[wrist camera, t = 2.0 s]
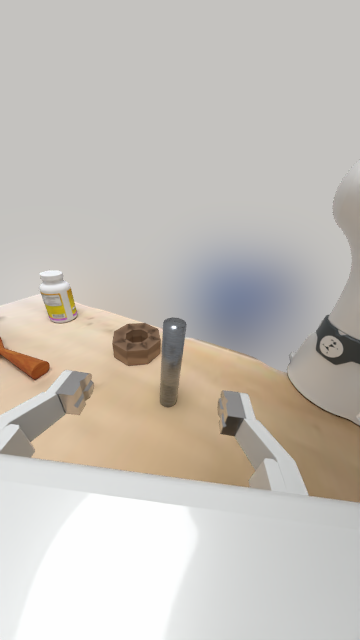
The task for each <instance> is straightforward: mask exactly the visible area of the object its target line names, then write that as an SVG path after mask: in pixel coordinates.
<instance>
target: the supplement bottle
mask: <svg viewBox="0 0 360 640" xmlns="http://www.w3.org/2000/svg"><path fill="white" fill-rule="evenodd" d="M39 275H40V278H41V279H42V281H43V283H42V284H41V285H40V287H39V289H40V292H41V295H42V298H43V301H44V304H45V306H46V309H47V312H48V315H49V317H50V319H51V321H53V322H56V323H64V322H68V321H71V320H73V319H74V318H76V316H77V311H76V307H75V303H74V299H73V295H72V291H71V288H70V284H69V283H68V282H66V281H64V280H63V274H62V272H61V271H54V270H53V271H45V272H41V273H40V274H39Z"/></svg>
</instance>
